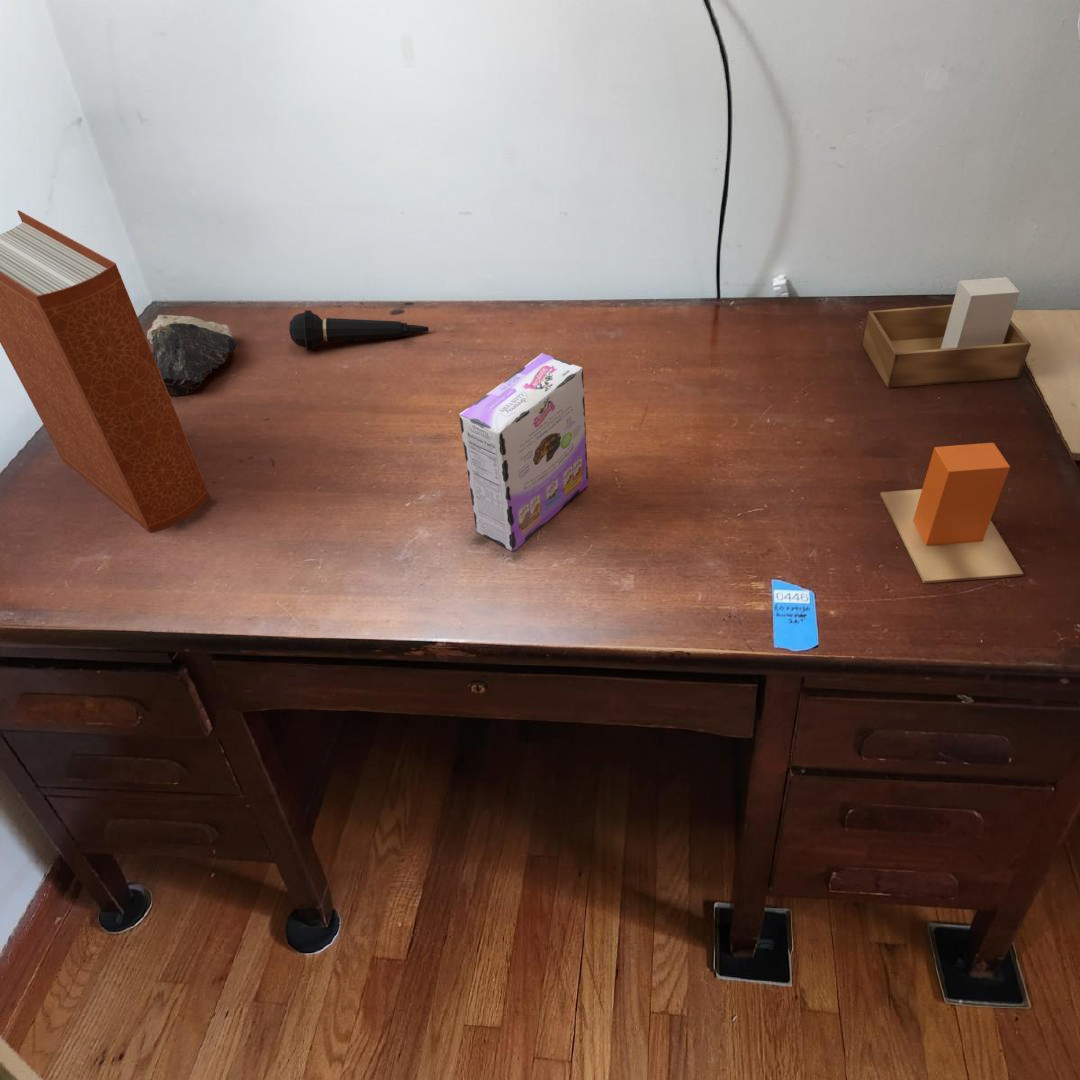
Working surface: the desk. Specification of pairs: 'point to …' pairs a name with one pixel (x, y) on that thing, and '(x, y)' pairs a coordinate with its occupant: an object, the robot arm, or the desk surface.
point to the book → (94, 375)
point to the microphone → (344, 329)
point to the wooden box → (935, 350)
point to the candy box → (526, 449)
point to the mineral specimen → (188, 350)
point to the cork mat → (949, 547)
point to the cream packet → (980, 313)
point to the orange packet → (960, 493)
